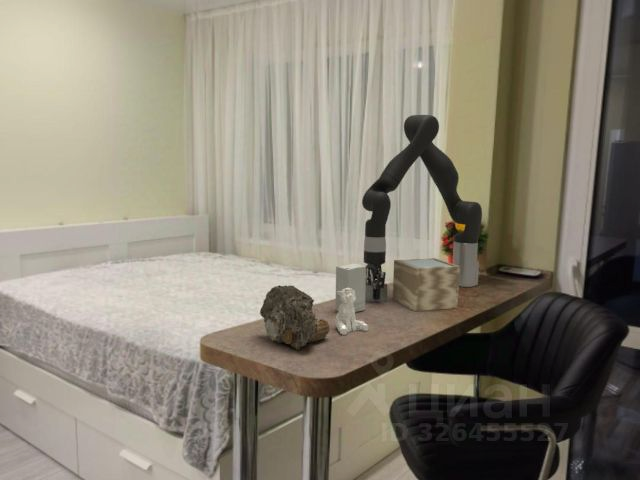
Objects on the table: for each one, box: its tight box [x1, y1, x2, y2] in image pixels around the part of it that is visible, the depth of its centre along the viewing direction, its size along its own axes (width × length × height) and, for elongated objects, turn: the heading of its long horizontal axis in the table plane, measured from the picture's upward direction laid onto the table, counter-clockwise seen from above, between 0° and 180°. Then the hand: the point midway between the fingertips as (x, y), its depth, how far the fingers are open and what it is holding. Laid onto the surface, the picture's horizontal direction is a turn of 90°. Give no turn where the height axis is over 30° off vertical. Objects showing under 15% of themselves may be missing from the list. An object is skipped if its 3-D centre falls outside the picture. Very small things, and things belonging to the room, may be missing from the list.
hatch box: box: [392, 257, 460, 312], centre depth 178 cm, size 16×16×14 cm
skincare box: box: [334, 262, 366, 313], centre depth 167 cm, size 8×6×15 cm
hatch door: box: [401, 258, 451, 268], centre depth 177 cm, size 13×13×1 cm
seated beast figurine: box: [334, 288, 369, 336], centre depth 148 cm, size 10×9×12 cm
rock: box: [259, 285, 331, 351], centre depth 137 cm, size 18×14×15 cm
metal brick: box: [365, 282, 388, 304], centre depth 182 cm, size 8×5×6 cm, turn 108°
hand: (373, 297), depth 183 cm, fingers closed on metal brick, 5 cm apart
